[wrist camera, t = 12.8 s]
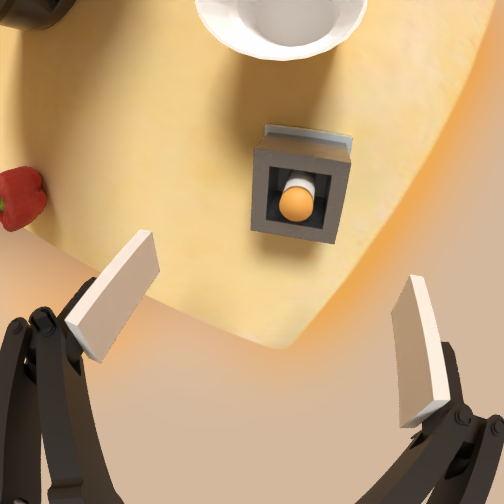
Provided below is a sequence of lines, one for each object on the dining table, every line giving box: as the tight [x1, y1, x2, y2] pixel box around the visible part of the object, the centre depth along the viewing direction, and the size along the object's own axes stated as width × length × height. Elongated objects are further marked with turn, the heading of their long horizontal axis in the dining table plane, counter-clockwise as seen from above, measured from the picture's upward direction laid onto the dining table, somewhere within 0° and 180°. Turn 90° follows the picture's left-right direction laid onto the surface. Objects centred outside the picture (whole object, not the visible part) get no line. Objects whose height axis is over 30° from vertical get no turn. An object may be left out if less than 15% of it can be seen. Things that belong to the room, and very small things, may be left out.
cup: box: [195, 0, 367, 61], centre depth 15 cm, size 10×10×10 cm
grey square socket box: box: [251, 132, 351, 244], centre depth 24 cm, size 7×7×6 cm
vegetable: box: [0, 166, 46, 232], centre depth 33 cm, size 11×10×10 cm
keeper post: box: [264, 124, 353, 221], centre depth 24 cm, size 8×8×8 cm
